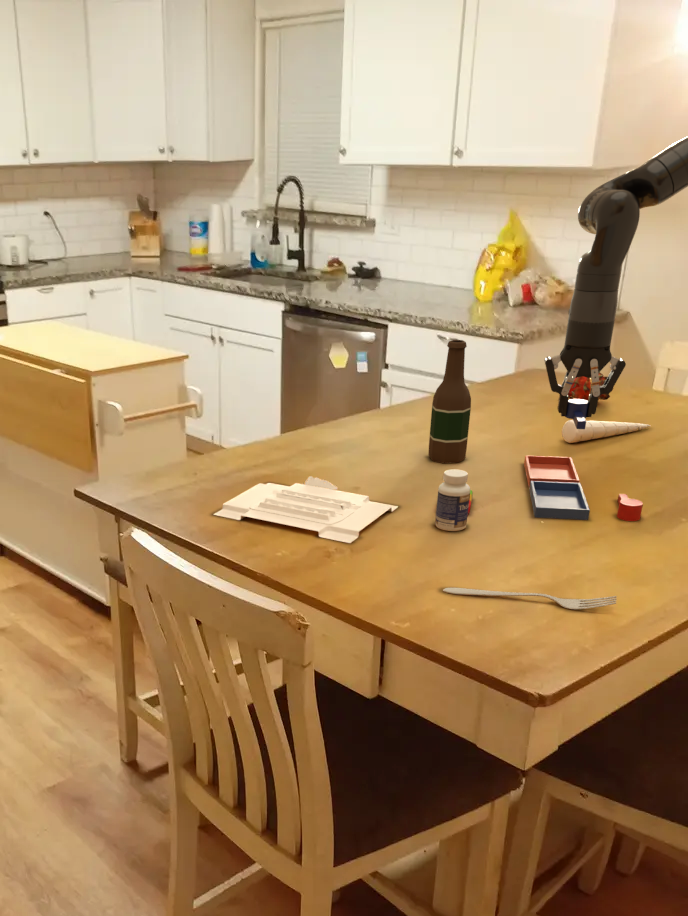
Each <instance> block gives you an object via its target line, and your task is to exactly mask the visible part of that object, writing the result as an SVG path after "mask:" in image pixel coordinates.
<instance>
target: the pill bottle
mask: <svg viewBox="0 0 688 916" xmlns="http://www.w3.org/2000/svg"><path fill="white" fill-rule="evenodd" d="M468 477H469V473H468V472H467V471H466V470H462V469H457V468H453V469H452V468H451V469H446V470H444V472H443V476H442V479H443V482H442V483H440V484H439V486H438V489H437V497H436V498H437V499H436V510H435V523H434V525H435V527H436V528H438V529H440V530H442V531H449V532H459V531H463V530H464V529H466V527H467V524H468V517H469V516H468V515H469V514H468V508H469V499H470V490H471V486H470V485H469V484H468V483H467V482H468Z"/></svg>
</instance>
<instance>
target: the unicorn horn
mask: <svg viewBox="0 0 688 916" xmlns="http://www.w3.org/2000/svg"><path fill="white" fill-rule="evenodd" d="M650 427H652V425H651V424H646V423H639V422H628V421H627V422H625V421H621V422H620V421H607V420H586V426H585V429H576V426H575V424H574V421H573V419H569V420H567V421H566V422H565V423H564V424H563V426H562V428H561V437H562V439H563V440H564V441H565V442H566V443H569V444H573V443H578V442H585V441H590V440H596V439H601V438H608V437H612V436H618V435H624V434H628V433H632V432H636V431H641V430H645V429H649V428H650Z"/></svg>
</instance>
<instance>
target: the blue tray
mask: <svg viewBox="0 0 688 916" xmlns="http://www.w3.org/2000/svg"><path fill="white" fill-rule="evenodd" d="M528 491H529V496H530V501H531V504H532V511H533V516H534V518H538V519H540V518H541V519H561V520H580V521H589V518H590V512H591V509H590V507H589V504H588V501H587V498H586V495H585V492H584V489H583V487H582V483H581V482H579V483H569V482H546V481H530V488H529V489H528Z"/></svg>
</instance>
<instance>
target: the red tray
mask: <svg viewBox="0 0 688 916" xmlns="http://www.w3.org/2000/svg"><path fill="white" fill-rule="evenodd" d="M574 463H575V462H574V460H573V458H572V456H554V455H553V456H549V455H529V454H527V455H524V461H523V466H524V471H525V475H526V476H525V477H526V481H527V487H528V488H529V489H530V481H546V482H569V483H580V478H579V474H578V472H577V469H576V466H575V464H574Z"/></svg>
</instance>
